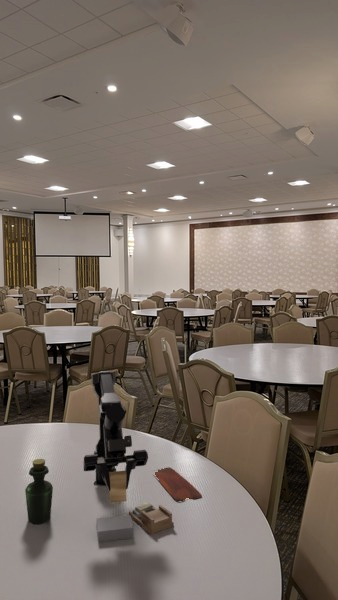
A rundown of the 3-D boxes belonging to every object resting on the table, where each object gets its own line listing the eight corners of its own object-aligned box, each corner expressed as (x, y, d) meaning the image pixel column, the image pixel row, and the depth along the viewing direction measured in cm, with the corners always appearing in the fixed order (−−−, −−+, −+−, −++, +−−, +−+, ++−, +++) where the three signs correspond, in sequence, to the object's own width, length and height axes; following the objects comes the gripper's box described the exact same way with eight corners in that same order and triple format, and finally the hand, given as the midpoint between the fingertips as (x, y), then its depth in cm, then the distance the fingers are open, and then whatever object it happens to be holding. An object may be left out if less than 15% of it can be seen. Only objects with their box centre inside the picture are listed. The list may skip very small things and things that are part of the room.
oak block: (109, 499, 131) (109, 472, 130) (125, 497, 132) (125, 470, 131) (110, 503, 128) (110, 475, 128) (126, 501, 129) (126, 474, 129)
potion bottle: (54, 511, 142) (53, 455, 141) (51, 525, 134) (51, 466, 133) (27, 513, 141) (26, 456, 140) (23, 527, 133) (22, 467, 132)
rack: (128, 514, 140) (128, 502, 140) (151, 507, 145) (151, 495, 145) (150, 534, 130) (150, 520, 130) (173, 525, 134) (173, 512, 134)
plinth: (96, 528, 133) (96, 518, 133) (130, 524, 135) (130, 514, 135) (97, 542, 126) (97, 531, 126) (133, 537, 128) (133, 527, 128)
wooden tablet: (204, 499, 152) (204, 494, 152) (176, 504, 148) (176, 499, 148) (173, 468, 176) (173, 463, 176) (149, 472, 173) (149, 467, 172)
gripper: (83, 428, 130) (86, 482, 120) (147, 423, 135) (154, 475, 125) (82, 444, 139) (84, 497, 128) (142, 439, 143) (148, 489, 133)
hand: (118, 489), depth 128 cm, fingers closed on oak block, 5 cm apart
